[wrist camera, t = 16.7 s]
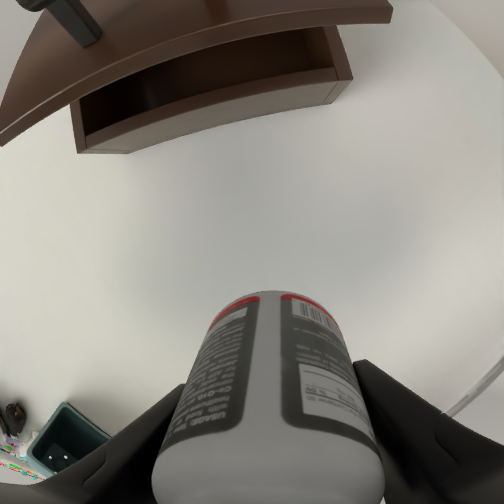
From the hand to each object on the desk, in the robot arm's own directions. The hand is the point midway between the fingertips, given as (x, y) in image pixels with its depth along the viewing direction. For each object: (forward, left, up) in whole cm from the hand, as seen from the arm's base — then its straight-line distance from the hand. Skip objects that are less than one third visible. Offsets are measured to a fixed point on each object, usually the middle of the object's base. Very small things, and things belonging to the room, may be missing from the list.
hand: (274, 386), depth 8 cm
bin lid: (+12, +9, -3) cm, 15 cm away
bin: (+12, +9, -12) cm, 19 cm away
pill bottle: (0, 0, -2) cm, 2 cm away
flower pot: (-33, +15, -8) cm, 37 cm away
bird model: (-35, +28, -10) cm, 46 cm away
